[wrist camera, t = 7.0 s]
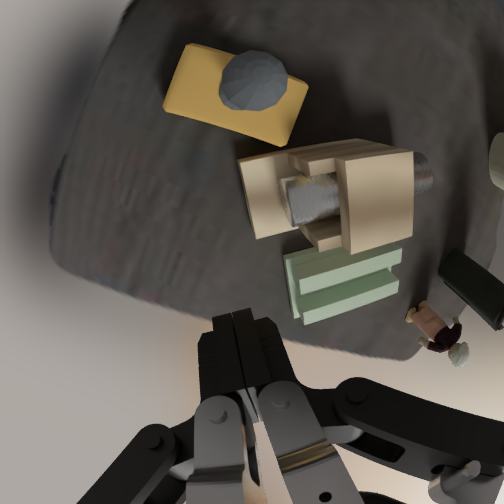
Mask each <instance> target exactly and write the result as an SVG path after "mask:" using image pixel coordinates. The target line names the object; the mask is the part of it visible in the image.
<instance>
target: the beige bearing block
mask: <svg viewBox="0 0 504 504" xmlns="http://www.w3.org/2000/svg"><path fill="white" fill-rule="evenodd" d="M237 162H238V166H239V171H240V175H241V180H242V184H243V189H244V194H245V198H246V203H247V207H248V212H249V217H250V221H251V226H252V230H253V233H254V235H255V237H256V239H259V238H263V237H266V236H270V235H274V234H278V233H282V232H286V231H290V230H294V229H298V228H299V229H300V230H301V232H302V233H303V234H304V235H305V236H306V237H307V239H308V240H309V241H310V242H311V243H312V245H313V246H314V247H315V248H316V249H317V251H318V252H319V253H320V252H323V251H327V250H330V249H334V248H337V247H341V246H343V247H344V248H345V249H346V250H347V251H348V252H349V253H350V254H351V255H352V254H355V253H359V252H362V251H365V250H369V249H372V248H375V247H378V246H382V245H385V244H388V243H391V242H395V241H398V240H401V239H404V238H407V237H411V236H412V229H413V207H414V165H413V151H409V150H405V149H402V148H398V147H394V146H390V145H385V144H381V143H377V142H372V141H367V140H363V139H358V138H357V139H349V140H341V141H334V142H327V143H321V144H314V145H308V146H302V147H297V148H291V149H286V150H281V151H275V152H270V153H266V154H261V155H256V156H251V157H247V158H242V159H238V160H237ZM335 171H337V180H338V191H339V202H340V215H336V216H333V217H329V218H325V219H322V220H318V221H315V222H311V223H307V224H304V225H300V226H296V227H292V226H291V225H290V224H289V222H288V220H287V218H286V215H285V213H284V210H283V206H282V203H281V199H280V193H279V180H280V179H282V178H286V177H291V176H295V175H299V174H303V173H305V174H307V175H309V176H315V175H320V174H325V173H330V172H335Z"/></svg>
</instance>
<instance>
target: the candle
mask: <svg viewBox="0 0 504 504" xmlns="http://www.w3.org/2000/svg"><path fill="white" fill-rule="evenodd" d="M438 274H439V276H440V277H441V278H442V279H443V280H444V283H445V284H446V285H447V286H448V287H449V288H450V289H451V290H453V291H454V292H455V293H456V294H457V295H458V296H459V297H460V298H462V299H463V300H464V301H465V302H466V303H467V304H468V305H469V306H470V307H471V308H472V309H473V310H475V311H476V312H477V313H478V314H479V315H480V316H481V317H482V318H483V319H484V320H485V321H486V322H487V323H488V324H489V325H490V326H491V327H492V328H493V329H494V330H495V331H497V330H498V329H499V330H501V329H503V328H504V284H503V283H502V282H501V281H500V280H498V279H497V278H496V277H495V276H493V275H492V274H491V273H489V272H488V271H487V270H486V269H484V268H483V267H482V266H480V265H479V264H478V263H476V262H475V261H473V260H472V259H471V258H469V257H468V256H466V255H465V254H464V253H462V252H461V251H459V250H458V249H454V250H453V251H452V252H451V254H450V255H449V256H448V258H447V259H446V260H445V262H444V263H443V264H442V265H441V267H440V269H439V272H438Z"/></svg>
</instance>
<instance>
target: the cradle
mask: <svg viewBox="0 0 504 504" xmlns="http://www.w3.org/2000/svg"><path fill="white" fill-rule="evenodd" d="M401 255H402V248H401V247H400V246H398V245H397V244H396V243H395V242H391V243H388V244H385V245H382V246H378V247H375V248H372V249H369V250H365V251H362V252H359V253H355V254H352V255H351V254H350V253H349V252H348V251H347V250H346V249H345V248H344V247H343V246H341V247H337V248H334V249H330V250H327V251H323V252H320V253H319V252H318V251H317V249H316V248H315V247H312V248H308V249H305V250H301V251H297V252H293V253H290V254H286V255H283V260H284V266H285V272H286V278H287V285H288V291H289V298H290V304H291V311H292V315H293V317H294V319H295V318H298V317H301V319H302V321H303V323H304V325H306V324H310V323H313V322H316V321H319V320H322V319H325V318H328V317H331V316H334V315H337V314H340V313H343V312H346V311H349V310H352V309H355V308H357V307H360V306H363V305H366V304H368V303H371V302H374V301H377V300H379V299H382V298H384V297H387V296H390V295H392V294H395V293H397V292H398V285H399V280H398V279H397V278H396V277H395V276H394V275H393V274H392V273H391V266H392V265H395V264H398V263H401Z"/></svg>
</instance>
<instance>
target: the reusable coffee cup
mask: <svg viewBox="0 0 504 504" xmlns="http://www.w3.org/2000/svg"><path fill="white" fill-rule="evenodd" d="M489 173H490V177H491V180H492V182H493V183H494V184H495V185H496V186H498V187H499V188H501V189H503V190H504V133H501V132H500V133H498V134H497V135H496V136H495V137H494V139H493V141H492V144H491V147H490V152H489Z"/></svg>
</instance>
